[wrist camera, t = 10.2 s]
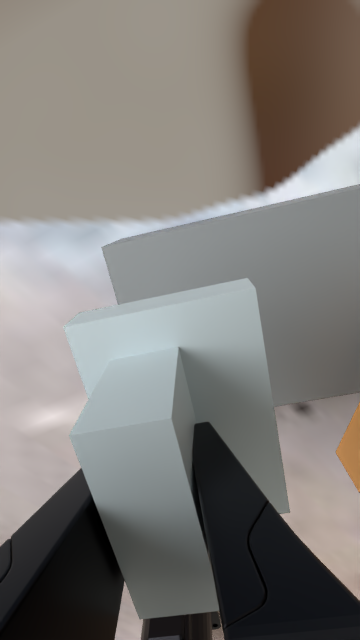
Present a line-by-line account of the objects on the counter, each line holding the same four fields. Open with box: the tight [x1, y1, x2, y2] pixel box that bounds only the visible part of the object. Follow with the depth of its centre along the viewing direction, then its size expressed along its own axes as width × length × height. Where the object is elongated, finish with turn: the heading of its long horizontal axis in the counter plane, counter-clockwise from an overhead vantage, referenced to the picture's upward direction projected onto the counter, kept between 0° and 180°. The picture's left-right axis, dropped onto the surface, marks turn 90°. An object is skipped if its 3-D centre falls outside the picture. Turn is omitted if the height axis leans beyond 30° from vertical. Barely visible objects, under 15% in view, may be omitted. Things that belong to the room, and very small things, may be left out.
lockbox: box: [102, 184, 360, 407], centre depth 18 cm, size 10×15×5 cm, turn 103°
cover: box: [63, 278, 290, 619], centre depth 8 cm, size 7×5×4 cm
